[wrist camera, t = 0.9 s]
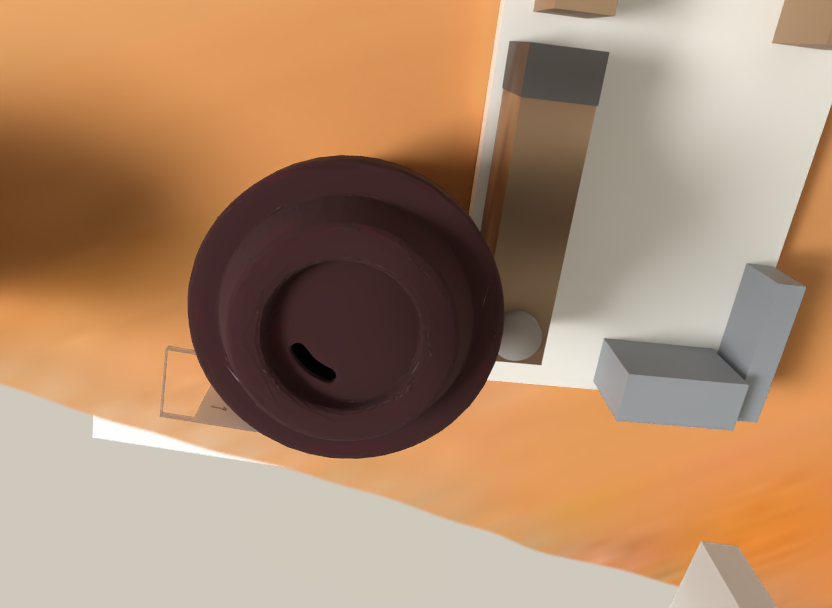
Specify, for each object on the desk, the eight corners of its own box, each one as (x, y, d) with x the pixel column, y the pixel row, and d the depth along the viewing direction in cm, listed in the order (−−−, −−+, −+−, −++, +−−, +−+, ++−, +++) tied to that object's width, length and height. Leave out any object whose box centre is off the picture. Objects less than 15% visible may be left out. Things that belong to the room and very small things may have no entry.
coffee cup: (443, 112, 31) (479, 128, 17) (481, 303, 34) (538, 453, 20) (244, 157, 32) (117, 210, 18) (299, 342, 35) (228, 515, 21)
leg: (523, 324, 34) (545, 371, 29) (465, 319, 34) (477, 365, 29) (577, 49, 29) (614, 52, 24) (509, 41, 29) (532, 41, 24)
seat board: (513, -85, 28) (538, -109, 23) (861, -35, 30) (953, -49, 25) (445, 366, 36) (454, 416, 32) (720, 390, 38) (768, 442, 33)
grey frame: (308, 337, 36) (295, 386, 31) (297, 399, 37) (283, 456, 32) (189, 316, 35) (155, 363, 30) (183, 380, 37) (150, 435, 32)
